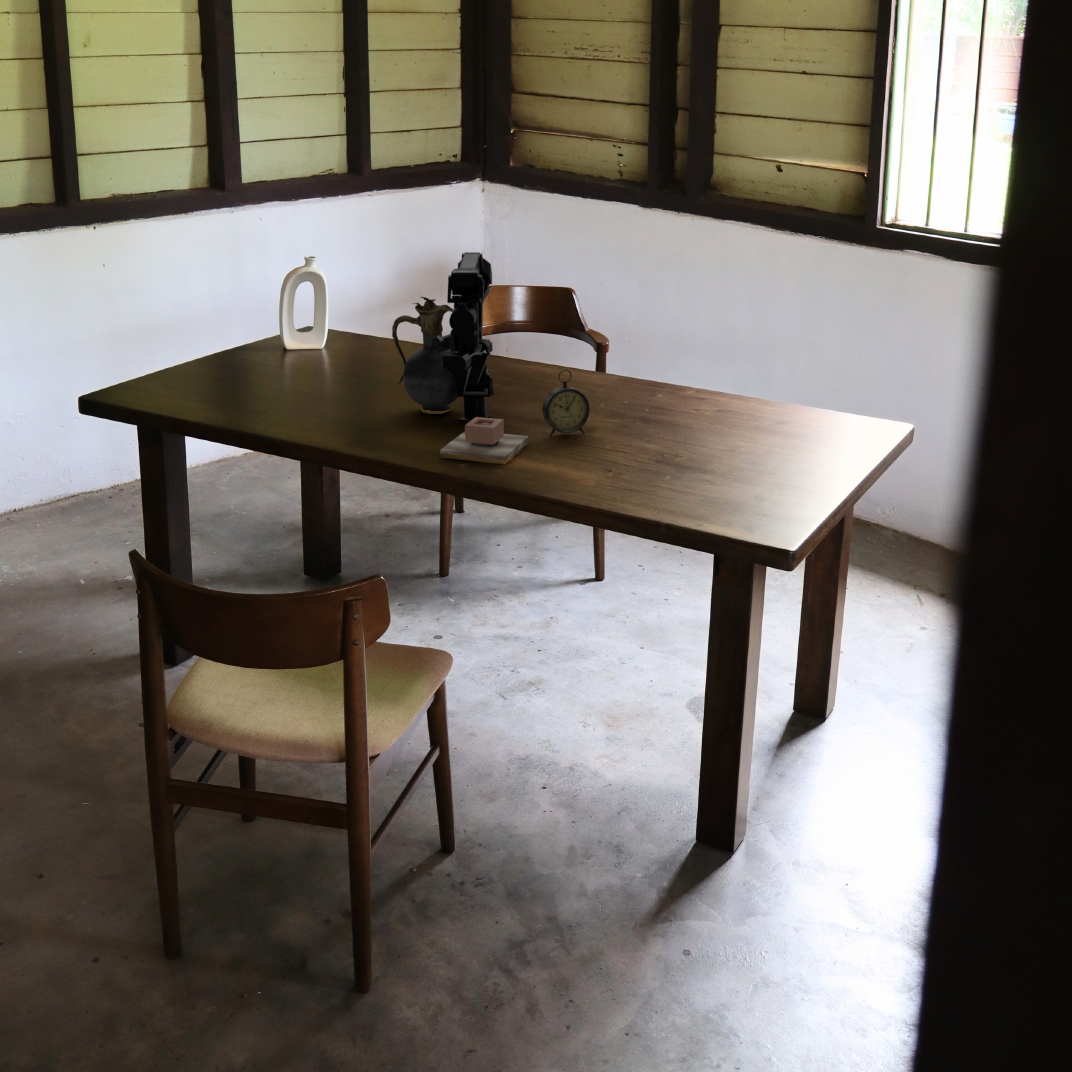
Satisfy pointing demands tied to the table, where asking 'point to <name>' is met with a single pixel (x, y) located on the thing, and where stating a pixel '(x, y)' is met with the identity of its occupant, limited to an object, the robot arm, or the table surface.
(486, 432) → the collar
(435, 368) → the pitcher
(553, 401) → the alarm clock
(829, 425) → the table surface
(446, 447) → the post stand
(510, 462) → the table surface
